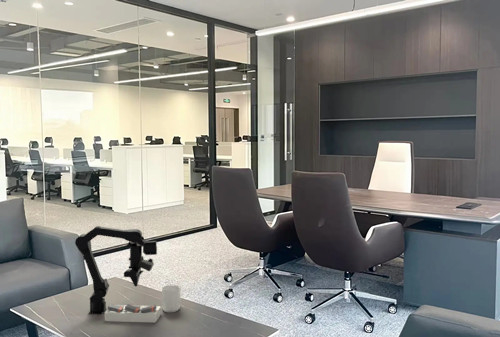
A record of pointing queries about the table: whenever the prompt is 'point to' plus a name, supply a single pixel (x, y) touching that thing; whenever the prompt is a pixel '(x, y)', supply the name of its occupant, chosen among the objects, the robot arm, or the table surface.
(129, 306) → the rocker
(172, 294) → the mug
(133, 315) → the power strip
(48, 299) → the table surface
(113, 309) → the rocker
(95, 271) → the robot arm
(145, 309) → the rocker
